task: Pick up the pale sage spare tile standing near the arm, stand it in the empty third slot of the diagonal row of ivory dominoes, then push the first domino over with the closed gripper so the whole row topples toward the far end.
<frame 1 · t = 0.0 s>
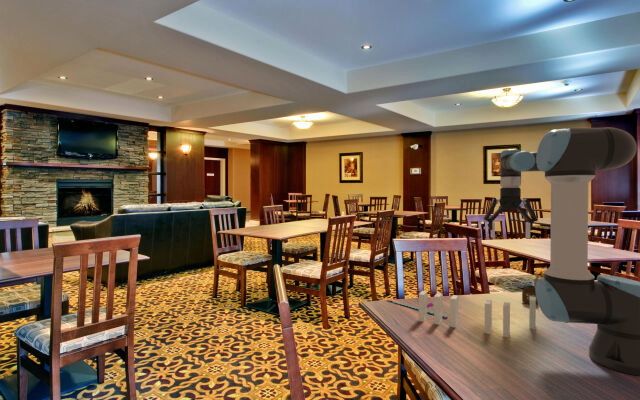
hand: (510, 238, 147), 28 cm above the table, tool pointing down, fingers open, 13 cm apart
domino 4: (454, 324, 125), on the table
utensil holder: (530, 303, 150), on the table
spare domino: (532, 326, 123), on the table
squeegee: (421, 309, 145), on the table
domino 5: (438, 322, 128), on the table
domino 6: (423, 319, 131), on the table
domino 1: (506, 334, 117), on the table
domino 2: (488, 331, 119), on the table
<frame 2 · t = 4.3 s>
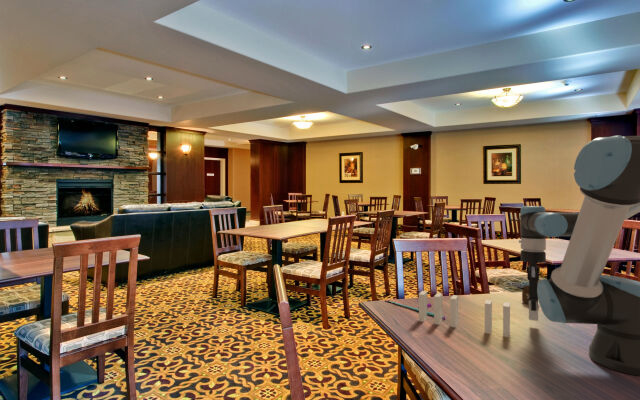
hand: (533, 317, 122), 4 cm above the table, tool pointing down, fingers closed on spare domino, 5 cm apart
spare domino: (533, 318, 122), point 3 cm above the table, touching gripper
squeegee: (419, 309, 145), on the table
everything else where it was.
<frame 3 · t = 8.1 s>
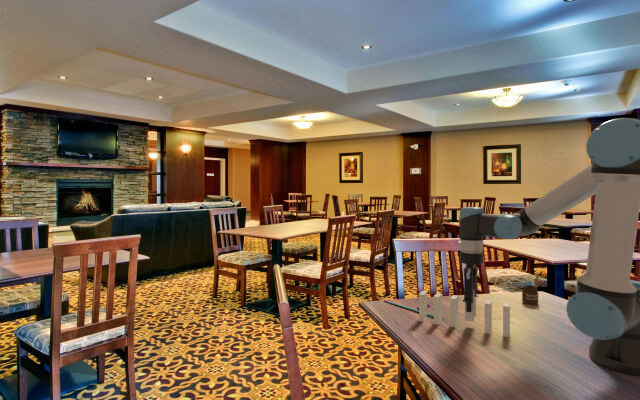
hand: (470, 318, 122), 3 cm above the table, tool pointing down, fingers closed on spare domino, 5 cm apart
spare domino: (470, 318, 122), point 3 cm above the table, touching gripper
squeegee: (418, 310, 144), on the table
when the fingers open (1 cm above the table, at t = 9.0 s): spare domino stays where it is, on the table.
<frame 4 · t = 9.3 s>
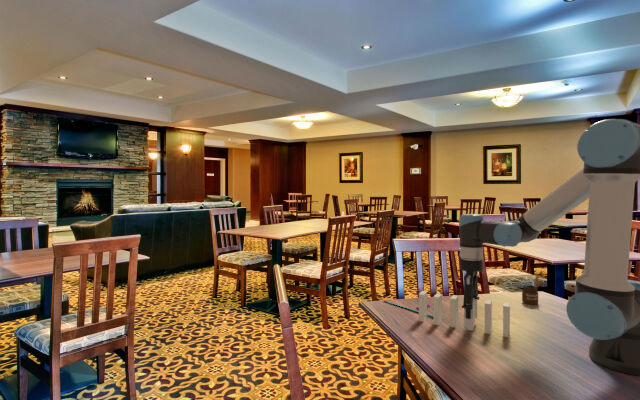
hand: (470, 322, 122), 2 cm above the table, tool pointing down, fingers open, 10 cm apart
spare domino: (470, 327, 122), on the table
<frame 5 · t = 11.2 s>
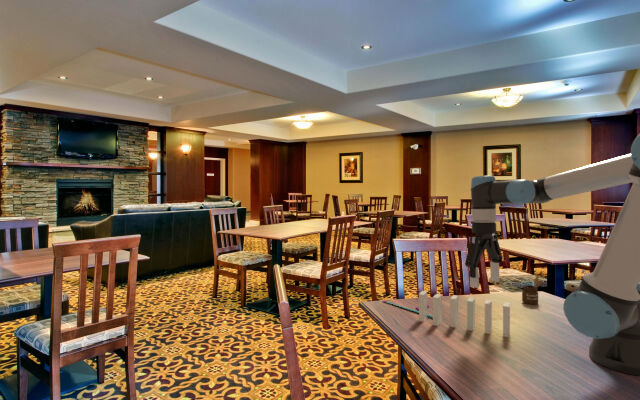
hand: (485, 284, 119), 16 cm above the table, tool pointing down, fingers open, 13 cm apart
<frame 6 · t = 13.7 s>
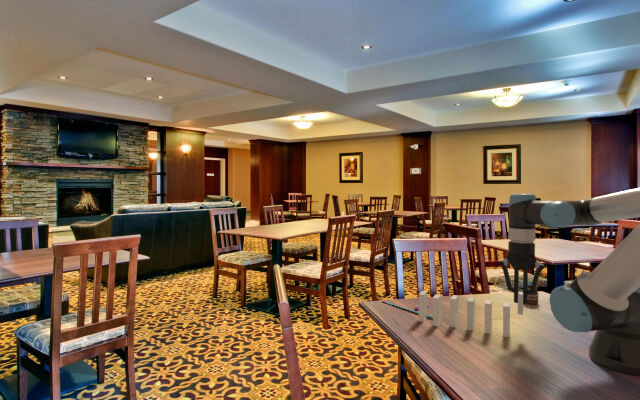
hand: (520, 313, 115), 8 cm above the table, tool pointing down, fingers closed
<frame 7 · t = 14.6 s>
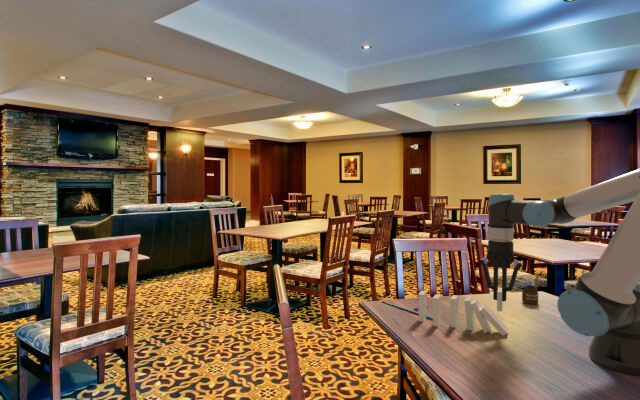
hand: (499, 310, 118), 8 cm above the table, tool pointing down, fingers closed
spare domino: (470, 327, 122), on the table, tilted 5°
domino 1: (505, 332, 117), point 1 cm above the table, tilted 44°, touching domino 2
domino 2: (487, 329, 120), on the table, tilted 26°, touching domino 1
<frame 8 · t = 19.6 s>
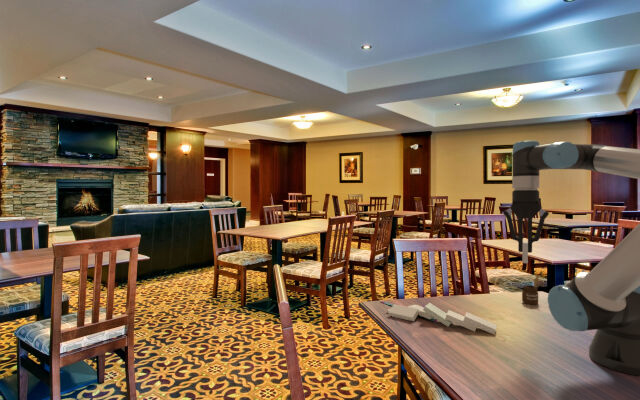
hand: (525, 262, 114), 24 cm above the table, tool pointing down, fingers closed
domino 4: (434, 315, 130), point 2 cm above the table, tilted 87°, touching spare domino
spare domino: (451, 322, 125), point 1 cm above the table, tilted 66°, touching domino 2, domino 4
domino 5: (416, 315, 129), point 2 cm above the table, tilted 91°, touching domino 6
domino 6: (413, 316, 133), on the table, tilted 90°, touching domino 5
domino 1: (495, 329, 118), point 1 cm above the table, tilted 73°, touching domino 2
domino 2: (476, 326, 121), point 1 cm above the table, tilted 74°, touching domino 1, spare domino
at the end: domino 6 tilted 90°; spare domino inside the target area (6.3 cm from its centre), point 0.9 cm above the table; domino 1 tilted 73° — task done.
